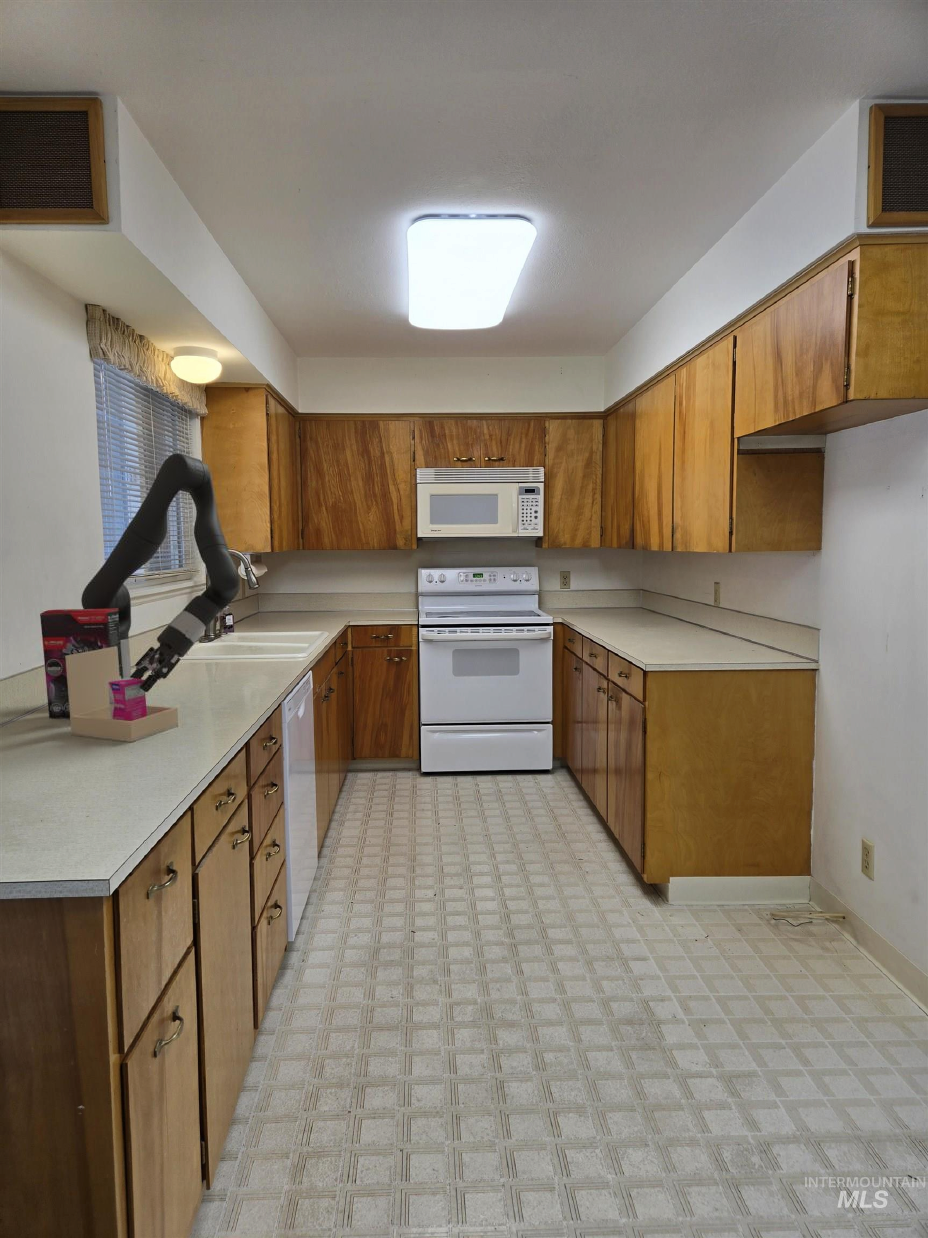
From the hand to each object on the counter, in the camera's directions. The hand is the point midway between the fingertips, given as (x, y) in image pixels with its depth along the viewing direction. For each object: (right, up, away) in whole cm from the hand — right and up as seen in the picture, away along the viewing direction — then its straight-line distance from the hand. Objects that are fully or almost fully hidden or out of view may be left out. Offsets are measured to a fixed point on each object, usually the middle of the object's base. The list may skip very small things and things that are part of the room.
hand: (136, 687), depth 165 cm
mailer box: (-2, -10, 0) cm, 10 cm away
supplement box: (-1, -10, 0) cm, 10 cm away
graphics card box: (-19, -9, +15) cm, 26 cm away
